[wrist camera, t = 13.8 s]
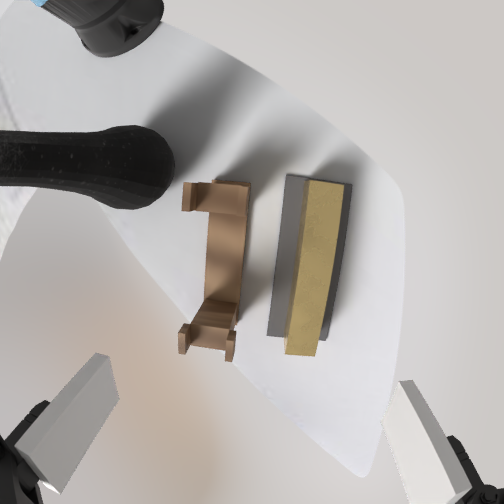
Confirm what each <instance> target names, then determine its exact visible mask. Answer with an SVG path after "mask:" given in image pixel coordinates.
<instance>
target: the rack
mask: <svg viewBox="0 0 504 504" xmlns="http://www.w3.org/2000/svg"><path fill="white" fill-rule="evenodd" d="M250 186H251V183H246V182H234V181H222V180H212V183H202V182H198V183H188V182H184V185H183V197H182V211H187V212H190V211H193V210H196V211H203V212H209V223H208V236H207V251H206V268H205V287H204V302H203V304H202V305H201V307H200V309H199V310H198V312H197V314H196V315H195V317H194V319H193V320H192V322H191V324H183V326H182V327H181V329H180V331H179V332H178V350H179V354H186V352H187V350H188V348H189V346H190V345H193V346H199V347H205V348H212V349H218V350H225V351H226V353H225V361H228V362H232V360H233V356H234V352H235V341H236V331H233V330H234V327H235V325H237V323H238V313H239V302H240V291H241V280H242V269H243V259H244V248H245V237H246V227H247V216H248V206H249V196H250Z"/></svg>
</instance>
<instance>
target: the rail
mask: <svg viewBox="0 0 504 504" xmlns="http://www.w3.org/2000/svg"><path fill="white" fill-rule="evenodd" d="M343 191H344V185H341V184H334V183H328V182H321V181H313V180H308V181H304V190H303V199H302V208H301V217H300V225H299V233H298V241H297V249H296V256H295V264H294V271H293V278H292V285H291V292H290V298H289V305H288V311H287V318H286V324H285V330H284V346H285V354H288V355H301V356H315V353H316V349H317V345H318V340H319V336H320V331H321V327H322V322H323V317H324V312H325V307H326V302H327V297H328V292H329V286H330V281H331V275H332V269H333V263H334V257H335V251H336V244H337V237H338V230H339V223H340V216H341V208H342V199H343Z"/></svg>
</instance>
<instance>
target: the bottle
mask: <svg viewBox="0 0 504 504" xmlns="http://www.w3.org/2000/svg"><path fill="white" fill-rule="evenodd" d="M174 168H175V163H174V158H173V153H172V151H171V149H170V147H169V146H168V144H167V142H166V141H165V139H164V138H163V137H161V136H160V135H159V134H158V133H157V132H155V131H153V130H151V129H148V128H144V127H141V126H137V125H129V126H117V127H112V128H109V129H106V130H103V131H98V132H87V133H85V132H28V131H6V130H0V186H30V187H40V188H50V189H57V190H63V191H70V192H76V193H79V194H83V195H87V196H90V197H92V198H94V199H95V200H97V201H99V202H101V203H103V204H106V205H108V206H110V207H113V208H116V209H130V210H134V209H139V208H142V207H146V206H149V205H150V204H152V203H153V202H154V201H156V200H157V199H159V198H160V197H161V196H162V195H163V194H164V192H165V191H166V190H167V188H168V187H169V186H170V184H171V181H172V179H173V176H174Z"/></svg>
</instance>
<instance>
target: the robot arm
mask: <svg viewBox="0 0 504 504" xmlns="http://www.w3.org/2000/svg"><path fill="white" fill-rule="evenodd" d="M31 1H32V2H33V3H35V5H36V6H38V7H41V8H43V9H45V10H46V11H48V12H50V13H51V14H53V15H54V16H56V17H58V18H59V19H61V20H62V21H64V22H66V23H67V24H69V25H70V26H72V27H73V28H75V30H76V32H77V34H78V36H79V37H80V38H81V41H82V44H83V46H84V47H85V48H86V49H87V50H88V51H89V52H91V53H93V54H94V55H96V56H99V57H113V56H117V55H120V54H123V53H125V52H127V51H129V50H131V49H133V48H134V47H136V46H137V45H139V44H140V43H141V42H143V41H144V40H145V39H146V38H147V37H148V36H149V35H150V34H151V33H152V32H153V31H154V30H155V28H156V27H157V25H158V24H159V22H160V20H161V18H162V15H163V11H164V3H163V1H162V0H31ZM118 401H119V395H118V392H117V388H116V384H115V380H114V376H113V371H112V367H111V363H110V358H109V356H106V355H102V354H99V353H95V354H94V355H93V357H91V359H90V360H89V361H88V362H87V363H86V364H85V365H84V366H83V367H82V368H81V369H80V370H79V372H78V373H77V374H76V375H75V376H74V377H73V378H72V379H71V380H70V381H69V383H68V384H67V385H66V386H65V387H64V388H63V390H61V391H60V393H59V394H58V395H57V396H56V397H55V398H54V399H53V401H52V402H48V401H46V400H44V401H43V402H41V403H39V404H37V405H36V406H35V407H34V408H33V409H32V410H31V411H30V413H29V414H27V416H26V417H25V418H24V420H22V421H21V422H20V423H19V425H18V426H17V427H16V428H15V429H14V430H13V431H12V433H11V434H10V435H9V436H8V437H7V438H6V439H5V440H3V438H2V437H1V435H0V504H43V501H42V497H41V492H40V488H39V486H38V484H37V482H38V481H39V479H40V480H41V481H42V482H43V483H44V485H45V486H46V487H48V488H50V489H51V490H53V491H55V492H57V493H58V494H61V493H62V491H63V490H64V488H65V486H66V485H67V483H68V481H69V479H70V478H71V476H72V474H73V473H74V471H75V469H76V468H77V466H78V464H79V463H80V461H81V460H82V458H83V456H84V455H85V453H86V451H87V449H88V448H89V447H90V445H91V443H92V442H93V440H94V438H95V437H96V435H97V434H98V432H99V430H100V429H101V427H102V426H103V424H104V423H105V421H106V419H107V418H108V416H109V415H110V413H111V411H112V410H113V408H114V407H115V405H116V404H117V402H118ZM381 425H382V427H383V430H384V432H385V435H386V438H387V440H388V443H389V446H390V448H391V451H392V454H393V457H394V459H395V462H396V465H397V468H398V471H399V473H400V477H401V479H402V482H403V485H404V488H405V491H406V494H407V498H408V501H409V504H504V488H501V489H497V488H496V487H494V486H492V485H484V483H483V482H482V480H481V479H480V477H479V475H478V473H477V471H476V469H475V467H474V465H473V463H472V462H471V460H470V459H469V456H468V454H467V453H466V452H465V449H464V447H463V446H462V444H461V442H460V441H459V440H458V439H456V438H455V437H454V436H453V435H452V436H448V437H446V436H445V434H444V432H443V430H442V429H441V427H440V425H439V423H438V422H437V420H436V418H435V416H434V415H433V413H432V411H431V410H430V408H429V406H428V404H427V403H426V401H425V399H424V398H423V396H422V395H421V393H420V391H419V390H418V388H417V386H416V385H415V383H414V382H413V380H408V381H399V383H398V385H397V388H396V390H395V392H394V394H393V397H392V399H391V401H390V403H389V405H388V408H387V410H386V412H385V414H384V416H383V418H382V420H381Z"/></svg>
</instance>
